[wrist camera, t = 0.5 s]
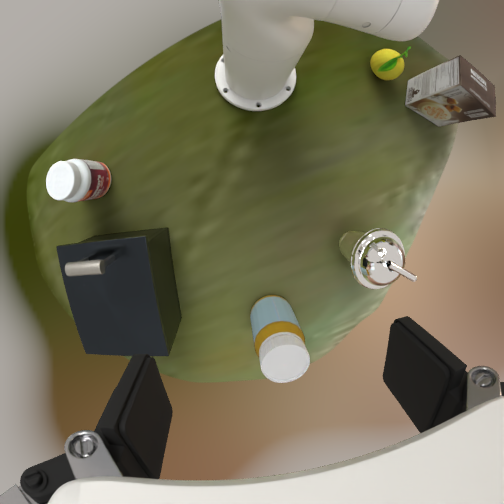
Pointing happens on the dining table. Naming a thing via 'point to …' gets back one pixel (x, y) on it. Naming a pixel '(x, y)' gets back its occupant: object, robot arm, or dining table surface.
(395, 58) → the lemon
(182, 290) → the dining table surface
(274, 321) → the bottle
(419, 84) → the coffee box
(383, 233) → the cup with straw
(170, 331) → the waste bin
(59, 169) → the pill bottle
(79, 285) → the bin lid
